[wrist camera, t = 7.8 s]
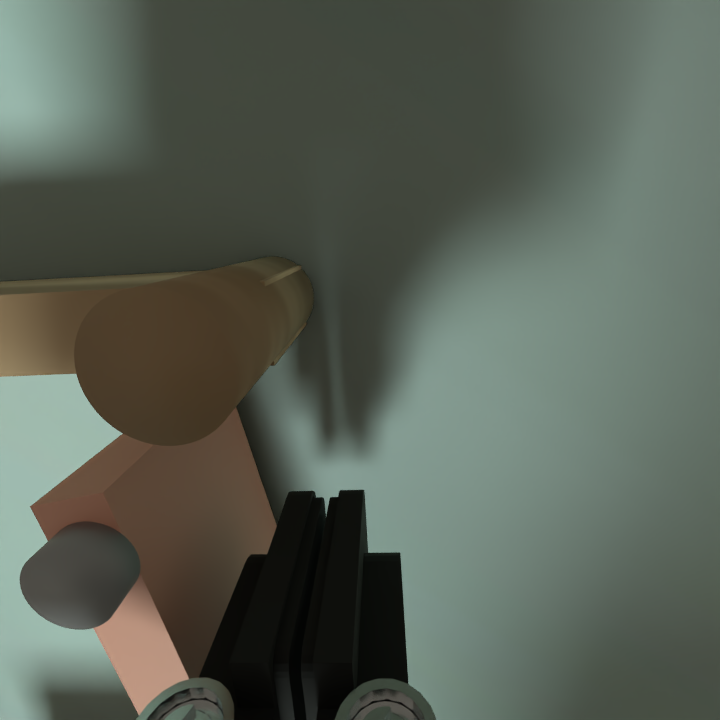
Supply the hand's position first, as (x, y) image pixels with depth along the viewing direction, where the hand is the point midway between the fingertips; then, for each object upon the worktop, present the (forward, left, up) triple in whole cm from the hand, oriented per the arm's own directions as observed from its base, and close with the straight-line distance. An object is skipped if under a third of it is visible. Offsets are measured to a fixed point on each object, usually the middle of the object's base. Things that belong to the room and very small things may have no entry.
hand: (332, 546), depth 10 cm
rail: (-8, +1, -3) cm, 9 cm away
